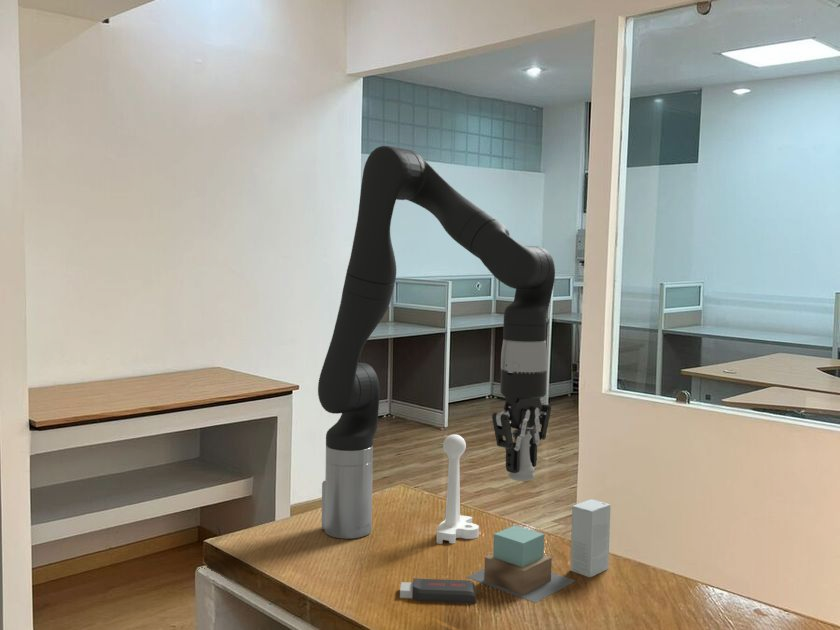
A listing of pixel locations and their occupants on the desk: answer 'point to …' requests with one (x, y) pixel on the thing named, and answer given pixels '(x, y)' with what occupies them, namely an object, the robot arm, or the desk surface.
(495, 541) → the teal block
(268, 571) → the desk surface
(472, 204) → the robot arm
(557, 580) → the mat
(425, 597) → the usb drive
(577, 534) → the skincare box
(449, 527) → the white ball-topped post
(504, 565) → the walnut block
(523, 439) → the rook chess piece
